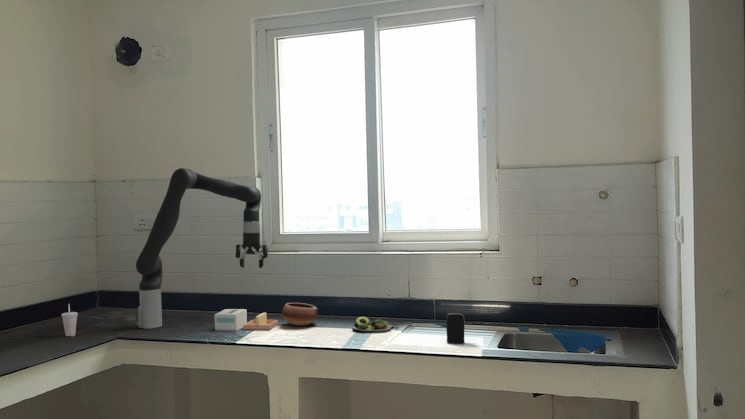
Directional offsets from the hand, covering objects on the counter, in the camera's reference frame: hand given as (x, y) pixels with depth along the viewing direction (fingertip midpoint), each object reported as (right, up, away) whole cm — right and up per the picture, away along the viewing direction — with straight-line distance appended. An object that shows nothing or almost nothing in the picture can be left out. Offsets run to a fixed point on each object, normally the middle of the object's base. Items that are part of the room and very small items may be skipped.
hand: (251, 267), depth 271 cm
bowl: (+22, -26, 0) cm, 34 cm away
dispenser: (-9, -27, -1) cm, 28 cm away
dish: (+5, -26, -3) cm, 27 cm away
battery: (+86, -26, -38) cm, 98 cm away
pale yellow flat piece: (+4, -23, -7) cm, 25 cm away
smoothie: (-76, -29, -10) cm, 82 cm away
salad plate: (+54, -26, -10) cm, 60 cm away
